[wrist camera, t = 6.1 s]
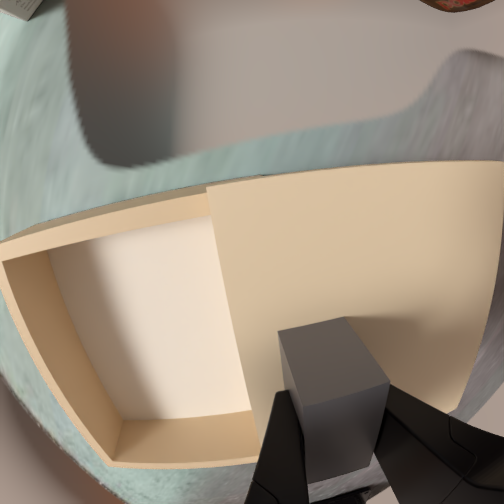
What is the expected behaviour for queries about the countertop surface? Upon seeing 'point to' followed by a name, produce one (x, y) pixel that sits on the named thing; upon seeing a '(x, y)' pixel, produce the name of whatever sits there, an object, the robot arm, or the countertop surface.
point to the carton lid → (358, 291)
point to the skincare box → (19, 8)
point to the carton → (135, 330)
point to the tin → (456, 4)
